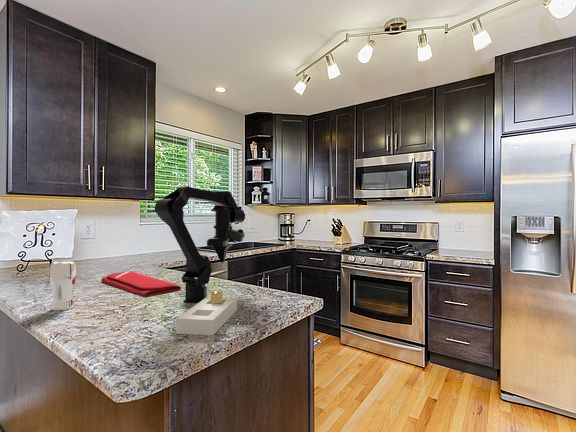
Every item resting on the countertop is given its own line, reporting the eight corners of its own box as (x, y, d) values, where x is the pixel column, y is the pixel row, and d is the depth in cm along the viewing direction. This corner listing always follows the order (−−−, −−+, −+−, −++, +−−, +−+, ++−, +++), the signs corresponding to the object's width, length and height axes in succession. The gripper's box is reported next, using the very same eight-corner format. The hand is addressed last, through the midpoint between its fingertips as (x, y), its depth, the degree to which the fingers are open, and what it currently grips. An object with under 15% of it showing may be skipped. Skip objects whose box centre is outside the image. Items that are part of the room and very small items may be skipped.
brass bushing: (208, 316, 96) (208, 293, 96) (212, 312, 100) (213, 290, 100) (220, 316, 96) (220, 293, 96) (223, 313, 99) (224, 290, 99)
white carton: (80, 306, 106) (80, 261, 106) (59, 312, 99) (59, 264, 99) (65, 304, 108) (66, 260, 108) (44, 310, 101) (44, 263, 101)
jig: (175, 333, 82) (176, 318, 82) (207, 308, 104) (207, 296, 104) (213, 335, 81) (213, 320, 81) (237, 309, 103) (237, 297, 103)
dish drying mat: (143, 298, 118) (144, 288, 118) (99, 282, 143) (100, 274, 143) (181, 290, 130) (181, 281, 130) (134, 277, 156) (134, 270, 156)
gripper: (235, 224, 115) (235, 266, 115) (248, 222, 133) (248, 259, 133) (206, 223, 116) (206, 266, 116) (222, 222, 134) (222, 259, 134)
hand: (222, 262), depth 125 cm, fingers closed
